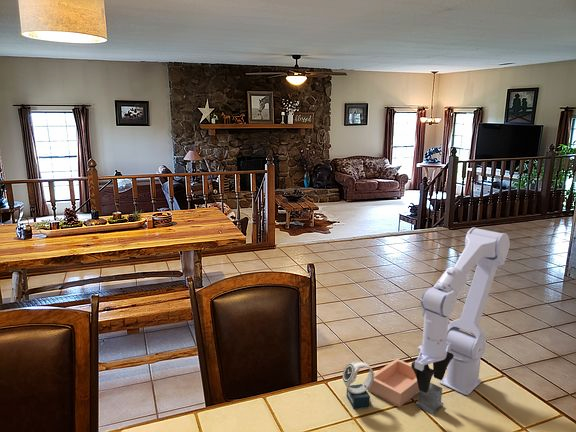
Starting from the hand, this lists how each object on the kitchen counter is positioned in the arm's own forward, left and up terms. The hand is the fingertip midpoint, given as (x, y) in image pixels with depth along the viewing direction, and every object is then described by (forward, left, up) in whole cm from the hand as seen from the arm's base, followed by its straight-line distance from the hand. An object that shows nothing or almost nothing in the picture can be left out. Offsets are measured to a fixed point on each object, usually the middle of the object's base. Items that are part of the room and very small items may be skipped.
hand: (430, 384), depth 114 cm
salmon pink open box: (-1, -10, -6) cm, 12 cm away
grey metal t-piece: (0, 0, -6) cm, 6 cm away
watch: (+12, -14, -7) cm, 19 cm away
